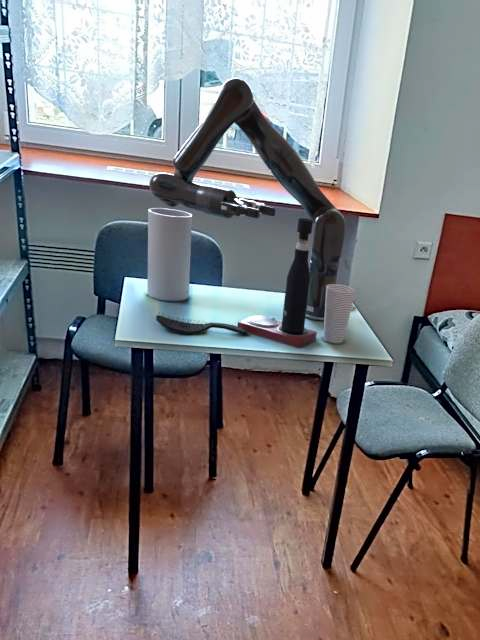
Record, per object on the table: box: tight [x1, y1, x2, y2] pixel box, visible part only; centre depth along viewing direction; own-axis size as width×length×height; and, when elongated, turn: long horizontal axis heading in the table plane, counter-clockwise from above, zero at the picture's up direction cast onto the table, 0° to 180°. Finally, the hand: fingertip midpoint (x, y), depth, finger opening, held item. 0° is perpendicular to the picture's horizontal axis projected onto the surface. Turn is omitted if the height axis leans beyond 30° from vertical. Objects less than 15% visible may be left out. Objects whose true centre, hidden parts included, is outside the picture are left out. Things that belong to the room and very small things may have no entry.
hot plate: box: [237, 314, 318, 348], centre depth 190 cm, size 12×20×3 cm, turn 66°
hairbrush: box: [155, 311, 249, 336], centre depth 182 cm, size 8×4×25 cm
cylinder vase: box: [147, 207, 193, 302], centre depth 200 cm, size 12×12×25 cm
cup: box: [322, 283, 356, 344], centre depth 191 cm, size 8×8×16 cm
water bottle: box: [281, 217, 314, 333], centre depth 181 cm, size 6×6×30 cm
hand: (266, 213), depth 178 cm, fingers open, 8 cm apart
